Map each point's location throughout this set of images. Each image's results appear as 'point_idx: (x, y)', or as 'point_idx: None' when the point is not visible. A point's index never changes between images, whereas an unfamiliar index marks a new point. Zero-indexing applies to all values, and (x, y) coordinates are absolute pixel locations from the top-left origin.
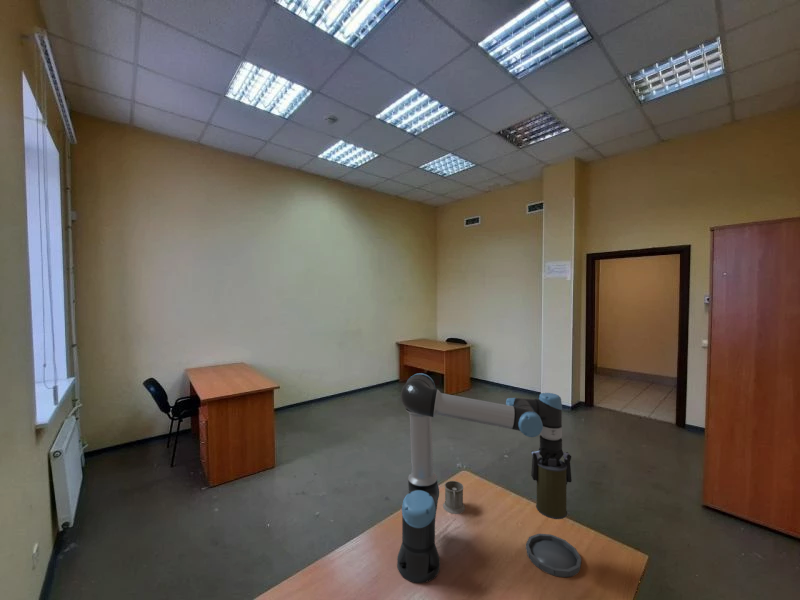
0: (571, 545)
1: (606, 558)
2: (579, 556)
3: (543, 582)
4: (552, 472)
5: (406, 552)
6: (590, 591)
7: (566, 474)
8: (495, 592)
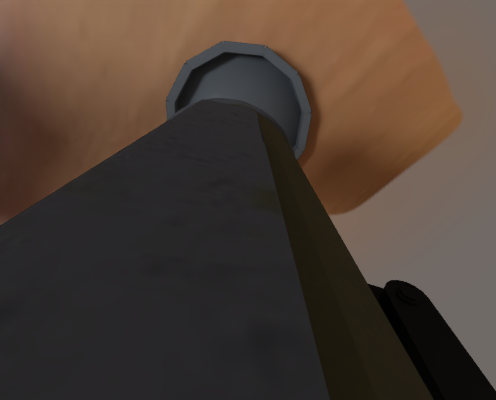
0: (306, 99)
1: (382, 122)
2: (304, 142)
3: None
4: None
5: None
6: None
7: (411, 347)
8: None
